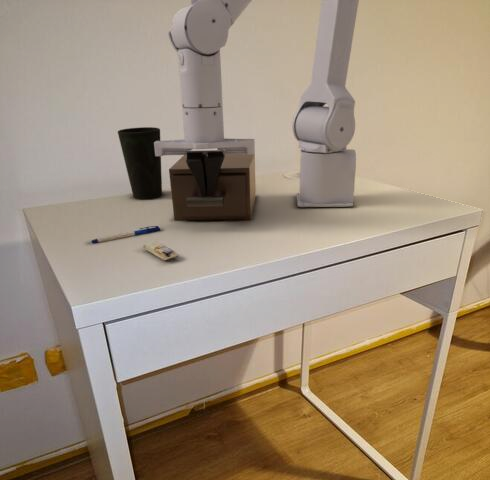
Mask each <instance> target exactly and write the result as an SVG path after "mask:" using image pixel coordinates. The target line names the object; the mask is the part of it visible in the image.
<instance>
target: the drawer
mask: <svg viewBox="0 0 490 480" xmlns="http://www.w3.org/2000/svg"><path fill="white" fill-rule="evenodd" d="M172 184H173V193H174V203H175V212H176V217H216V216H246V215H247V200H246V174H245V173H231V174H221V175H218V178H217V182H216V187H215V193H214V196H205V197H201V193H200V190H199V187H198V185H197V182H196V180H195V178H194V176H193V174H180V175H173V176H172Z"/></svg>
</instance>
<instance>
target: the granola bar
mask: <svg viewBox="0 0 490 480" xmlns="http://www.w3.org/2000/svg"><path fill="white" fill-rule="evenodd" d="M141 247H142V248H143V249H145V250H146V251H148V252H149V253H151V254H153V255H154V256H156V257H158V258H159V259H162V261H168V260H169V261H170V260H172V259H174V258H176V257H178V256H179V254H178V253H177V252H176V251H175V250H173V249H171V248H170V247H168V246H166V245H164V244H162V243H160V242H158V241H155V240H154V241H151V242H147V243H145V244H143V245H141Z"/></svg>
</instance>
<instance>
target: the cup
mask: <svg viewBox="0 0 490 480" xmlns="http://www.w3.org/2000/svg"><path fill="white" fill-rule="evenodd" d="M117 135H118V139H119V144H120V148H121V152H122V156H123V161H124V164H125V167H126V172H127V177H128V180H129V184H130V188H131V189H130V190H131V192H132V193H131V194H132V197H133V199H135V200H154V199H158V198H160V197H162V196H163V179H162V176H163V175H162V156H155V148H154V142H156V141H161V129H160V128H159V127H153V126H152V127H151V126H149V127H148V126H146V127H145V126H144V127H143V126H142V127H131V128H129V127H128V128H123V129H119V130H118V131H117Z"/></svg>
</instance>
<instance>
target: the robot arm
mask: <svg viewBox="0 0 490 480" xmlns="http://www.w3.org/2000/svg"><path fill="white" fill-rule="evenodd" d="M252 1H253V0H191V1H190V4H191V5H188V6H185V7H182V8H180V9H179V10H178V11H177V12H175V14H174V16H173V18H172V20H171V26H170V31H168V33H167V34H168V39H169V42H170V44H171V46H172V48H173V49H174V51H175V52H176V53H177V60H178V76H179V86H180V87H179V89H180V97H181V98H180V99H181V100H180V101H181V112H182V123H183V136H184V137H183V138H184V139H172V140H171V139H170V140H160V141H156V142H154V148H155V156H161V157H163V156H184V155H187V160H186V163H187V165H188V167H189V169H190V170H191V172H192V174H193V176H194V178H195V180H196V182H197V185H198V187H199V190H200V193H201V197H205V196H214V193H215V187H216V182H217V178H218V175H219V171H220V168H221V166H222V163H223V160H224V157H225V155H224V154H248V155H251V154H255V155H256V147H255V146H256V142H255V141H256V140H255V139H256V138H225V129H224V106H223V105H224V104H223V84H222V83H223V82H222V81H223V80H222V63H221V48H224V47H225V46H226V44H227V42H228V37H229V30H230V28H231V27H233V25H234V24H235V22H236V21H237V20H238V19H239V18H240V16H241V15H242V14H243V12H244V11H245V10H246V8H247V7H248V6H249V5H250V3H252ZM359 1H360V0H321V2H320V9H319V18H318V25H317V33H316V39H315V40H316V41H315V50H314V57H313V65H312V71H311V72H312V73H311V80H310V84H309V85H308V87H307V88H306V89H305V90H304V92H303V93H301V95H300V97H299V104H298V108H297V111H296V112H295V114H294V116H293V120H292V126H291V127H292V134H293V136H294V138H295V140H296V141H297V142H298V149H300V155H299V156H300V157H299V158H300V161H299V193H296V203H297V207H298V208H339V207H341V208H345V207H351V208H352V207H353V206H354V195H355V194H354V193H355V182H356V168H357V154H356V150H355V149H349V148H348V149H347V147H348V145H350V143H351V142H352V140H353V138H354V135H355V132H356V119H355V107H356V106H355V105H356V101H355V98H354V97H353V95H352V94H351V93H350V91H349V90H348V89H347V87H346V84H347V77H348V71H349V65H350V58H351V53H352V45H353V39H354V32H355V26H356V22H357V21H356V19H357V14H358V8H359ZM326 105H327V106H326ZM215 149H216V150H215ZM207 155H208V156H207Z"/></svg>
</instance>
